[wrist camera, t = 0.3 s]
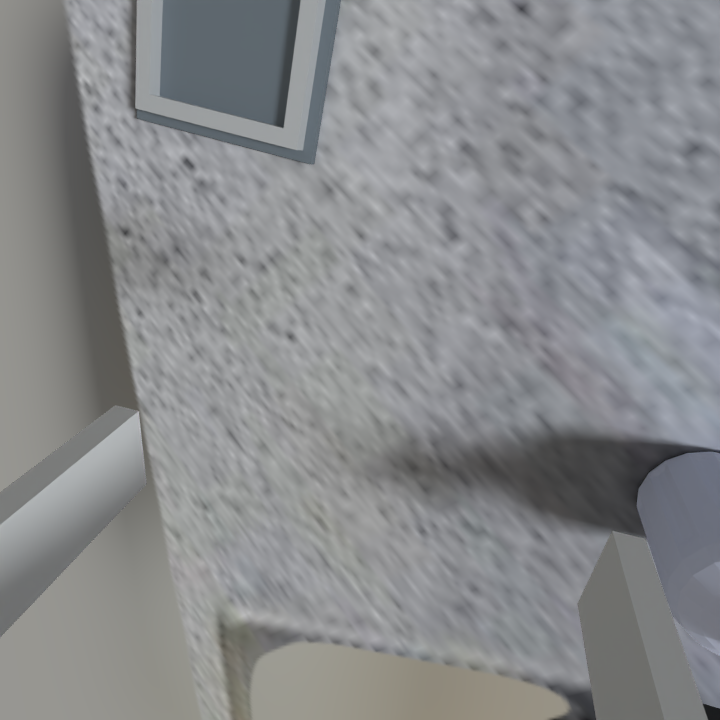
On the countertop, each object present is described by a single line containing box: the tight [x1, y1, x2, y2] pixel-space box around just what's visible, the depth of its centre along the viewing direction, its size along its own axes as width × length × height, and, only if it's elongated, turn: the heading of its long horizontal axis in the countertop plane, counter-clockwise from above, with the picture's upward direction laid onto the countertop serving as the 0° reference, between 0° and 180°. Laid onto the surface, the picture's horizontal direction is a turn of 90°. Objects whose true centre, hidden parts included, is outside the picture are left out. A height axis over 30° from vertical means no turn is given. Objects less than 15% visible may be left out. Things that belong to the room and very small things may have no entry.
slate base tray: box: [135, 0, 341, 164], centre depth 35 cm, size 15×15×2 cm
